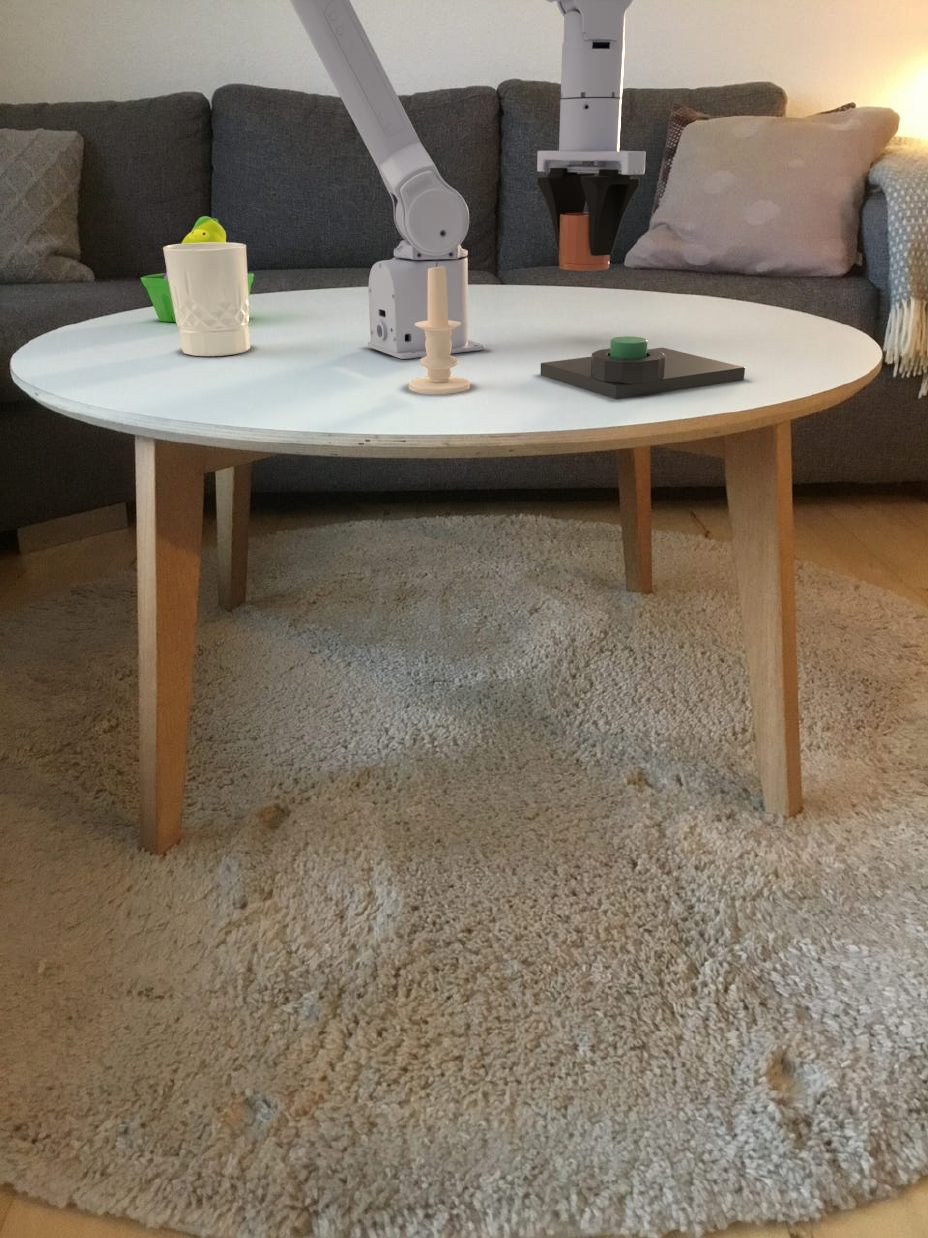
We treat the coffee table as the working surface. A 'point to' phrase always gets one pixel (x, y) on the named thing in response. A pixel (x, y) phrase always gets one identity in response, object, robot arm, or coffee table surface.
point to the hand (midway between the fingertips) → (584, 252)
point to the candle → (438, 341)
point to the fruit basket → (159, 283)
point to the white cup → (210, 296)
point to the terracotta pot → (578, 244)
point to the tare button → (628, 347)
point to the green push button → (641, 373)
